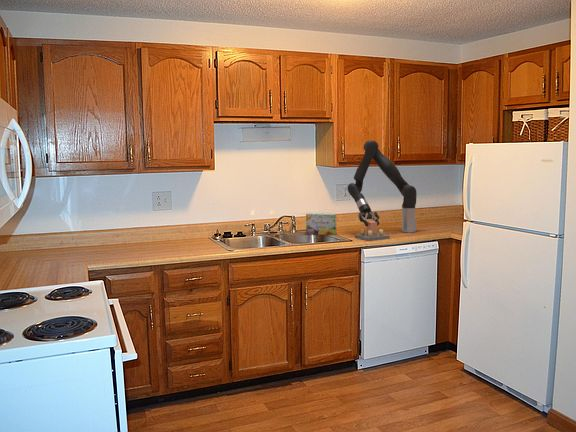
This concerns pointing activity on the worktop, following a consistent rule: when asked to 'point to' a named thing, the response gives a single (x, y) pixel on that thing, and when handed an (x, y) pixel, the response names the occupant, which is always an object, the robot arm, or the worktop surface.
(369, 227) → the terracotta block
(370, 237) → the chassis plate
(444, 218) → the worktop surface
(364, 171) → the robot arm
